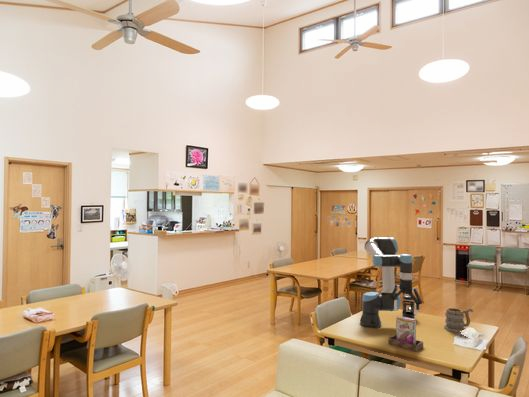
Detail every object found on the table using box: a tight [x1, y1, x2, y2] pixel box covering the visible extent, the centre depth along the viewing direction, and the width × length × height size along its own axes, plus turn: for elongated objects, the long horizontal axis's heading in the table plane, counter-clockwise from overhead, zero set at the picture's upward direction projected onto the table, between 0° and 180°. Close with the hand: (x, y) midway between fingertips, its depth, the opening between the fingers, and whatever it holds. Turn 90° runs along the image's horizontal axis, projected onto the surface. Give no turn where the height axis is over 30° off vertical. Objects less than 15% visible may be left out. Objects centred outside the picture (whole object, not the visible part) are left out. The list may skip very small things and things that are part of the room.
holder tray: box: [387, 334, 424, 352], centre depth 241 cm, size 18×10×4 cm, turn 45°
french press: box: [401, 294, 416, 319], centre depth 301 cm, size 12×9×23 cm
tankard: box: [443, 307, 474, 333], centre depth 273 cm, size 20×13×15 cm, turn 91°
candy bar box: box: [395, 315, 417, 345], centre depth 241 cm, size 11×5×16 cm, turn 50°
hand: (405, 312), depth 241 cm, fingers open, 13 cm apart
